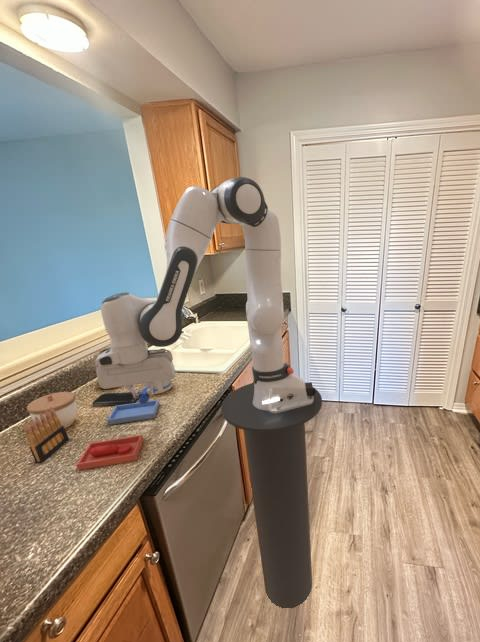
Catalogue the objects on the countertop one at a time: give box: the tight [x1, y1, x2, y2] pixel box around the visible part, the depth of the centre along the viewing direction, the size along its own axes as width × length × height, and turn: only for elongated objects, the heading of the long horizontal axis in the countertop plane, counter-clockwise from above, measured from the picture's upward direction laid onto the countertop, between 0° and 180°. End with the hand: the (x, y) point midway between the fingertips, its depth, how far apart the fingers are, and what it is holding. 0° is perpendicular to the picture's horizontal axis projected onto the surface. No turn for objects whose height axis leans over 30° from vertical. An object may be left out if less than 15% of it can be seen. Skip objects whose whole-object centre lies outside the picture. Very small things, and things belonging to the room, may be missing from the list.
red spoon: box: [90, 444, 132, 456], centre depth 90 cm, size 4×10×3 cm, turn 103°
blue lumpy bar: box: [138, 387, 155, 404], centre depth 98 cm, size 4×10×3 cm, turn 13°
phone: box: [92, 391, 142, 407], centre depth 120 cm, size 8×1×15 cm
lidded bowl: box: [26, 391, 79, 429], centre depth 104 cm, size 13×13×11 cm
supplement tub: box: [144, 379, 173, 395], centre depth 125 cm, size 10×10×15 cm
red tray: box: [75, 434, 144, 471], centre depth 90 cm, size 14×10×2 cm
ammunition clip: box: [23, 407, 70, 463], centre depth 91 cm, size 11×2×12 cm, turn 177°
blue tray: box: [106, 399, 161, 426], centre depth 110 cm, size 14×10×2 cm
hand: (144, 395), depth 96 cm, fingers closed on blue lumpy bar, 2 cm apart
